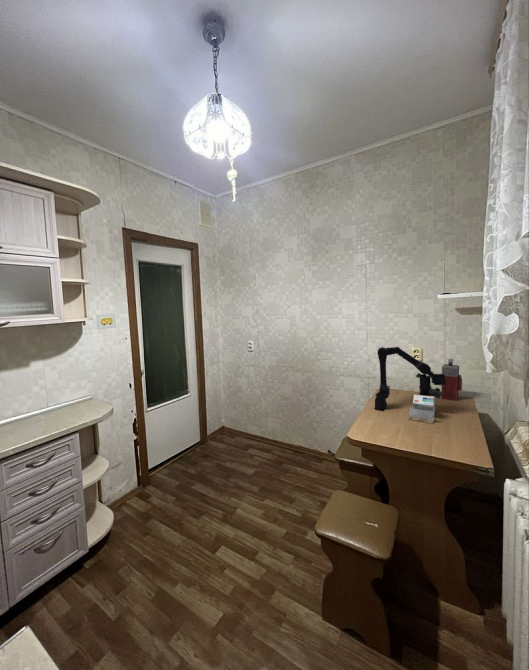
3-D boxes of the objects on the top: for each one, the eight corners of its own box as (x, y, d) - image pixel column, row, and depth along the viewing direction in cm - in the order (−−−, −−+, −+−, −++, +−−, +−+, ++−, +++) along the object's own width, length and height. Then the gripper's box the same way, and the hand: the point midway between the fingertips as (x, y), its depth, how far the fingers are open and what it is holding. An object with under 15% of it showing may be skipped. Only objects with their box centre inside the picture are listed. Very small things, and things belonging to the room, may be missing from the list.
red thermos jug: (461, 402, 186) (462, 360, 184) (441, 399, 193) (441, 359, 191) (462, 399, 193) (463, 358, 191) (443, 396, 200) (444, 357, 198)
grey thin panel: (409, 418, 162) (409, 408, 161) (409, 417, 163) (409, 407, 162) (433, 422, 155) (433, 412, 154) (433, 421, 156) (433, 411, 155)
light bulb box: (435, 408, 167) (434, 396, 161) (434, 417, 162) (434, 405, 157) (414, 405, 173) (413, 393, 167) (413, 414, 168) (412, 402, 163)
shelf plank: (408, 419, 160) (408, 418, 160) (409, 418, 162) (409, 417, 162) (433, 424, 153) (433, 423, 153) (433, 422, 155) (433, 421, 155)
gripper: (439, 390, 157) (440, 417, 159) (441, 381, 172) (441, 406, 174) (417, 388, 163) (417, 414, 165) (420, 380, 179) (421, 404, 180)
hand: (425, 409), depth 171 cm, fingers closed, pressing on light bulb box
